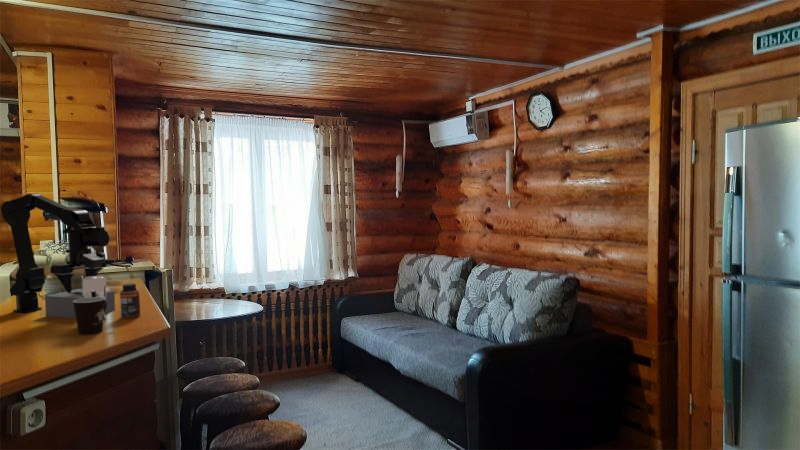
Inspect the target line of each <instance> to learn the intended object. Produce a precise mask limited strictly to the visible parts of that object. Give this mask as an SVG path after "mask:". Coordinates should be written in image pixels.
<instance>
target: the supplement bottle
mask: <svg viewBox="0 0 800 450" xmlns="http://www.w3.org/2000/svg"><path fill="white" fill-rule="evenodd" d="M119 296H120V297H119V299H120V300H119V301H120V302H119V303H120V316H121V318H122V319H125V318H126V319H127V318H129V319H135V317H136V318H139V317H141V302H140V299H141V298H140V290H139V289H137V285H136V283H132V282H131V283H130V282H129V283H123V284H122V290H121V291H120V293H119ZM127 320H128V319H127Z"/></svg>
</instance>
